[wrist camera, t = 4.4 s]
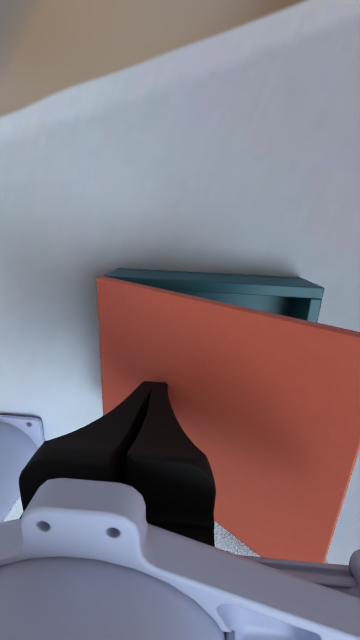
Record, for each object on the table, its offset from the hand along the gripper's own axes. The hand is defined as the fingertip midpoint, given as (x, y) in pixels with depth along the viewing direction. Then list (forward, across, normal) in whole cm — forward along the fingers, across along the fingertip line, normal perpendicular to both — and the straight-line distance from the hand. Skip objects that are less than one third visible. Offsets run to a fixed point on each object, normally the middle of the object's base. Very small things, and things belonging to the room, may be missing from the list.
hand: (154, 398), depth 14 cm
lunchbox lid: (0, -2, 0) cm, 2 cm away
